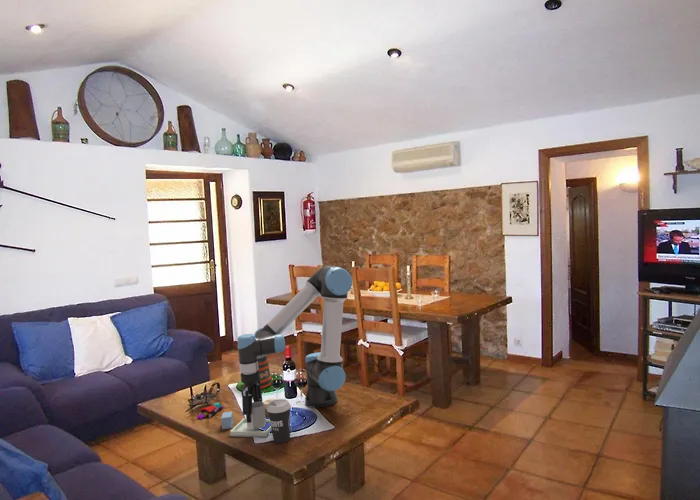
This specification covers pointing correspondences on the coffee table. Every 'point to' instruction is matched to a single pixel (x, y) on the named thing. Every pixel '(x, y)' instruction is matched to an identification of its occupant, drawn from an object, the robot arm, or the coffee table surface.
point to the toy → (210, 410)
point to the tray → (248, 430)
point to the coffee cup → (279, 420)
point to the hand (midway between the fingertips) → (254, 424)
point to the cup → (258, 414)
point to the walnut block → (266, 411)
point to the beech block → (268, 401)
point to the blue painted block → (227, 420)
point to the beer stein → (264, 371)
